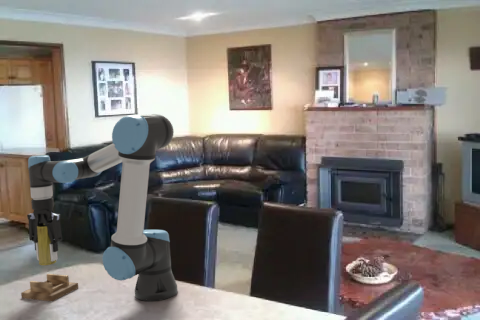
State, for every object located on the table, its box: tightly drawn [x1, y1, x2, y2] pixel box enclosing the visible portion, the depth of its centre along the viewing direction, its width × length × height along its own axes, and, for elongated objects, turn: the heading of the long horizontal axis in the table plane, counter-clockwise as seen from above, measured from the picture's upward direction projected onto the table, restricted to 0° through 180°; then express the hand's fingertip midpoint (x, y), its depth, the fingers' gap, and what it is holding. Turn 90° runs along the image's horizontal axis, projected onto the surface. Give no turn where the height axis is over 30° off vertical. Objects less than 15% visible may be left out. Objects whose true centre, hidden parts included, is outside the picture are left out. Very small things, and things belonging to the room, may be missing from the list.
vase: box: [37, 224, 57, 266], centre depth 186 cm, size 6×6×14 cm
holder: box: [20, 273, 79, 302], centre depth 187 cm, size 14×14×6 cm
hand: (47, 259), depth 187 cm, fingers closed on vase, 6 cm apart
